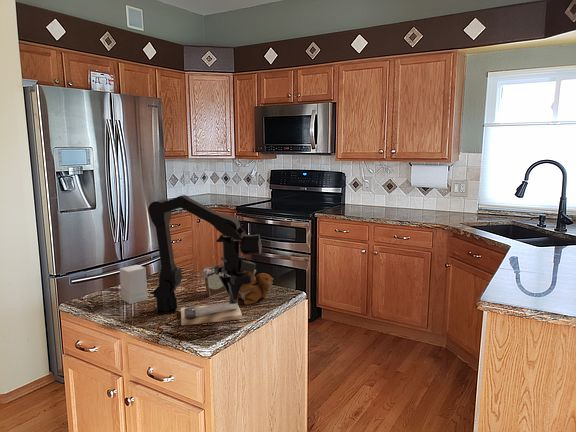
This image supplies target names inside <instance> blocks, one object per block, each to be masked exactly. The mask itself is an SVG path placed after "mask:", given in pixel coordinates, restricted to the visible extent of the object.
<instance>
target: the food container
mask: <svg viewBox="0 0 576 432" xmlns="http://www.w3.org/2000/svg"><path fill="white" fill-rule="evenodd" d="M216 266H217V265H214V266H209V267H206V268H204V269H203V271H202V274H201V275H202V278H204V286H205V293H206V296H207V297H208V298H212V297H214V296H217V295H221V294H223V293H227V291H226V289H225V288H224V286H223V284H222V282H221V280H220V278H219V276H221V273H220V272H219V275H216V274H215V273H214V268H215V267H216Z"/></svg>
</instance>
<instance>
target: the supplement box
mask: <svg viewBox="0 0 576 432" xmlns="http://www.w3.org/2000/svg"><path fill="white" fill-rule="evenodd" d="M146 268H147V267H144V266H141V265H139V264H134V265H128V266H123V267H121V268H119V281H120V282H119V283H120V294H121V301H124V302H125V303H127V304H129V305H133V304H136V303H140V302H143V301H147V300H149V298H148V285H147V282H148V281H147V271H146V270H147V269H146Z"/></svg>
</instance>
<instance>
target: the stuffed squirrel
mask: <svg viewBox="0 0 576 432" xmlns="http://www.w3.org/2000/svg"><path fill="white" fill-rule="evenodd" d="M239 273H246V274H248V275H250V276H251V278H252V282H251V283H248V284H243V285H241V287H240V291H239V294H238V299H242V300H243V303H244V305H252V304H255V303H257V302H258V301H259V300H260V299H264V298H265V297H267V296H268V294H269V291H270V289H269V288H270V287H271V286H272V285H273V282H274V278H273V277H272V276H271V275H270V274H268V273H265V272H262V273H257V269H255V270H254V273H251V272H249V271H245V270H244V272H239ZM256 273H257V274H256ZM255 275H256V276H255Z"/></svg>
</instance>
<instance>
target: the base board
mask: <svg viewBox="0 0 576 432" xmlns="http://www.w3.org/2000/svg"><path fill="white" fill-rule="evenodd" d="M212 305H213V304H209V305H198V306H193V307H194V308H195V309H196V308H201V307H206V306H212ZM189 307H190V306H189ZM189 307H180V320H181V321H180V324H181V325H180V326H188V325H190V326H191V325H198V324H206V323H207V324H208V323H218V322H226V321H236V320H237V321H238V320H243V314H242V311H241V309H240V306H239V305H238V308H236V309H231V310H226V311H221V312H216V313H211V314H206V315H201V316H196V317H195V318H193V319H186V318H185V311H184V310H185V309H186V308H189Z"/></svg>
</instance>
